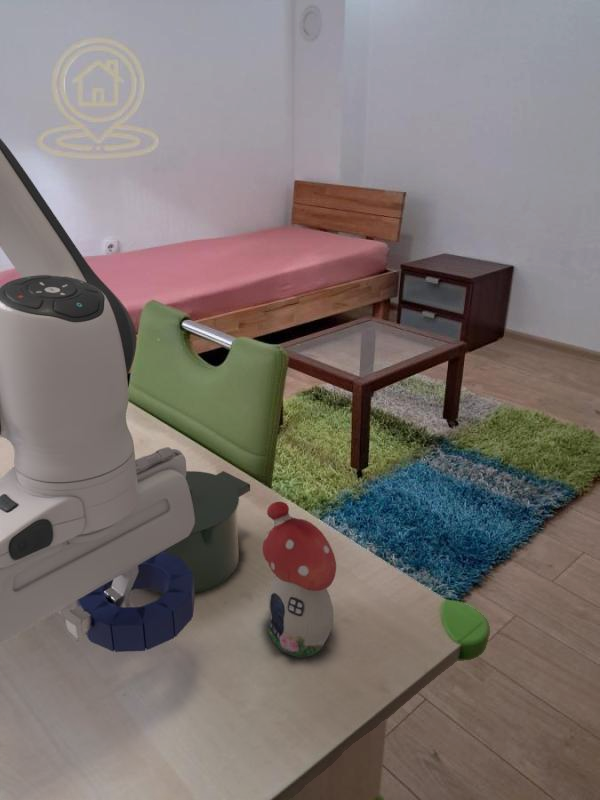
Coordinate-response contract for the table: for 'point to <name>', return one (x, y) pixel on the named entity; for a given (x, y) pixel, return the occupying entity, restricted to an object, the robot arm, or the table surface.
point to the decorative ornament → (298, 583)
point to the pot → (211, 528)
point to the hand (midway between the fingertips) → (99, 618)
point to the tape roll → (144, 607)
